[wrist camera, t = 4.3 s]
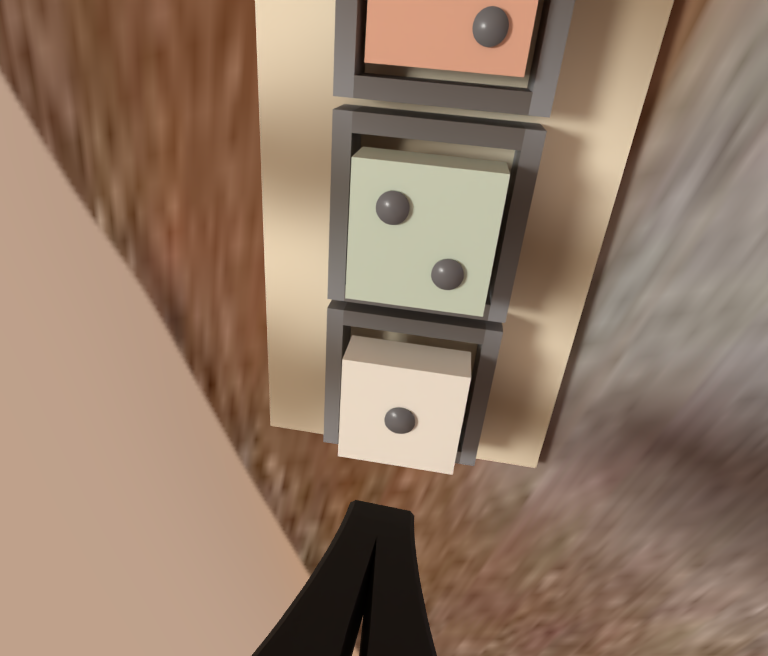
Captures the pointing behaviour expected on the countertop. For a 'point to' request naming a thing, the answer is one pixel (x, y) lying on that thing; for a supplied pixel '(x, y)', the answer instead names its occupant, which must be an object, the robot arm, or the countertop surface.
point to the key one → (402, 403)
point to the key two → (423, 229)
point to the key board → (451, 138)
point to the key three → (451, 34)
